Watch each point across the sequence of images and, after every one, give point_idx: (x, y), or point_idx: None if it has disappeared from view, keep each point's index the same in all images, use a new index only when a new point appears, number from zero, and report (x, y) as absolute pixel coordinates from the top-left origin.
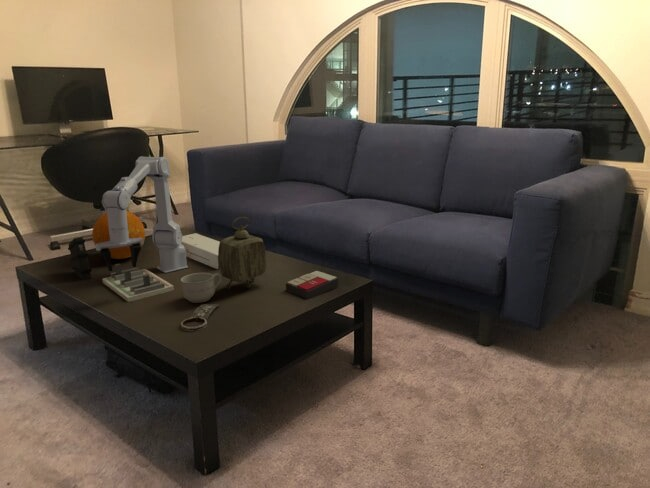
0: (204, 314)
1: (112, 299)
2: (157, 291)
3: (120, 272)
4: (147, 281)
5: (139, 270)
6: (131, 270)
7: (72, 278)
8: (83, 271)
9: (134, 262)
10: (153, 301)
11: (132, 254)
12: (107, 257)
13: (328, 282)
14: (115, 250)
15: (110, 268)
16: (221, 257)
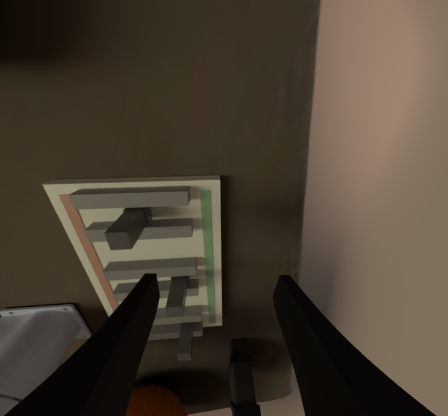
0: None
1: (245, 221)
2: (113, 181)
3: (183, 328)
4: (127, 218)
5: None
6: (152, 332)
7: (255, 349)
8: (246, 359)
9: (140, 297)
10: (145, 121)
11: (121, 382)
12: (379, 384)
13: None
14: (160, 412)
15: (296, 287)
16: None
